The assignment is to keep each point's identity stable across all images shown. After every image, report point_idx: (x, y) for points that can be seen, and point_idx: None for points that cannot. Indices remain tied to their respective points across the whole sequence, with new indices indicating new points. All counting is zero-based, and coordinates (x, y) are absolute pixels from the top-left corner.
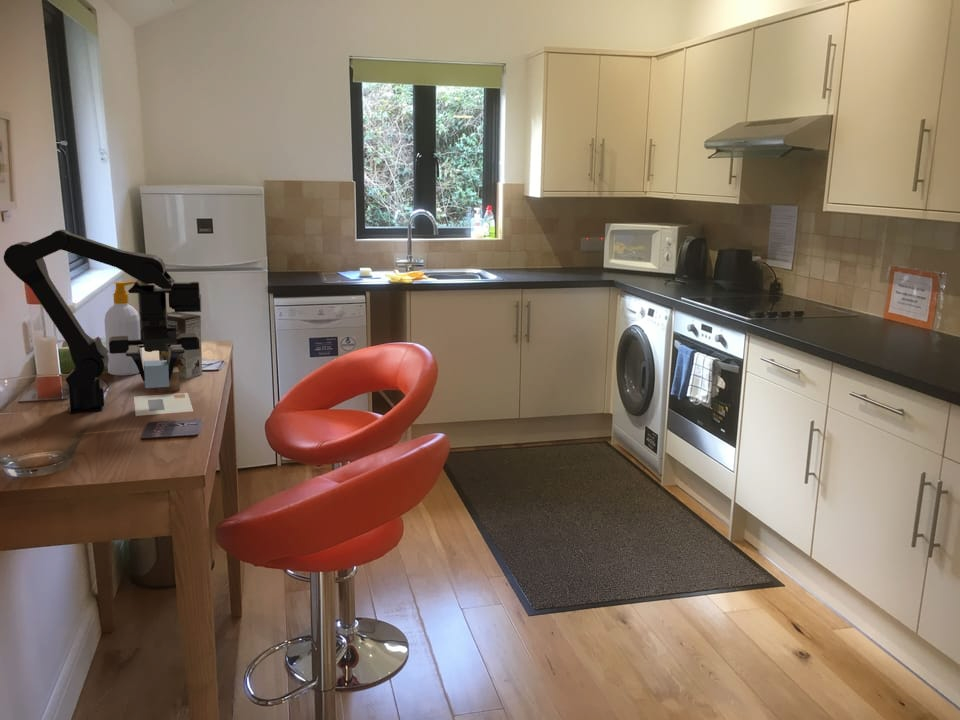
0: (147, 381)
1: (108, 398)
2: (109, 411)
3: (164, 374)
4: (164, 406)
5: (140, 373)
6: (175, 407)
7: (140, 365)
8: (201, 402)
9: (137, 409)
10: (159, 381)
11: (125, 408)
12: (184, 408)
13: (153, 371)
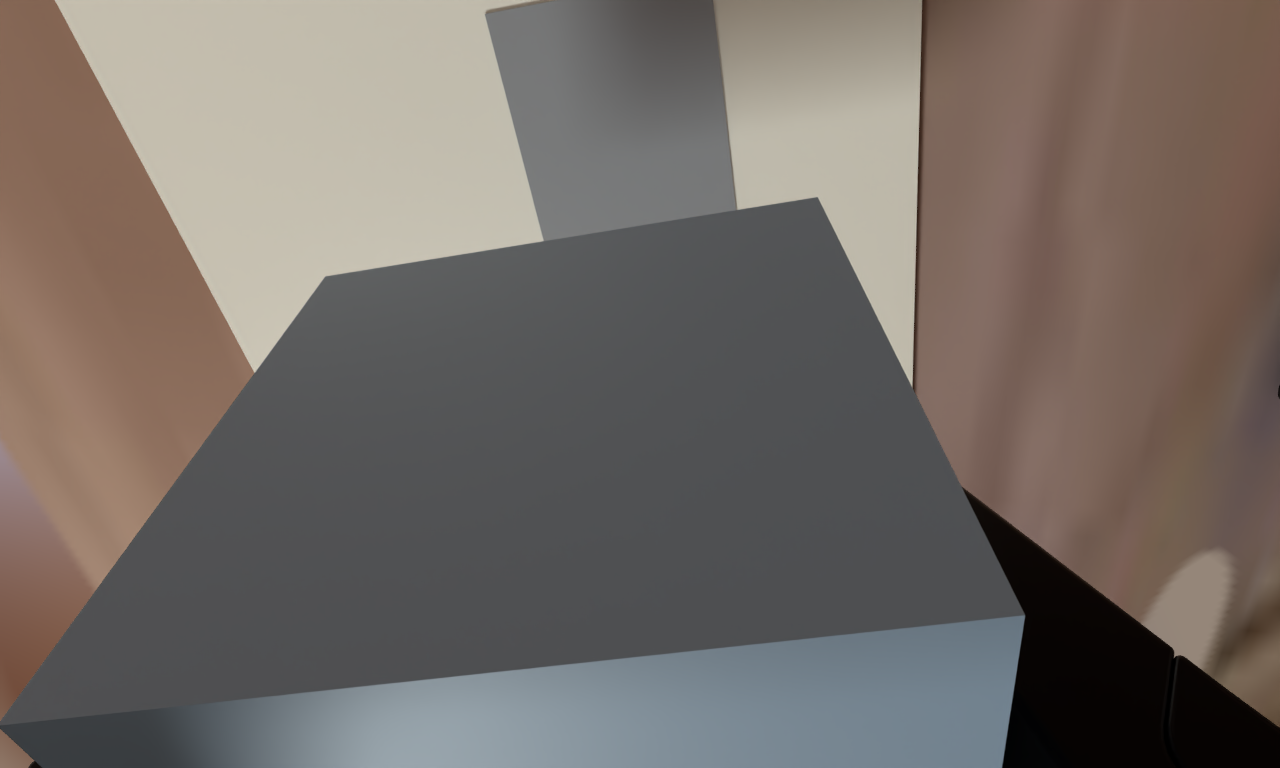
0: (790, 278)
1: (1150, 569)
2: (1273, 67)
3: (310, 439)
4: (525, 191)
5: (1010, 538)
6: (354, 118)
7: (1143, 749)
8: (116, 345)
9: (887, 76)
10: (496, 310)
11: (1035, 193)
12: (199, 44)
13: (619, 476)
